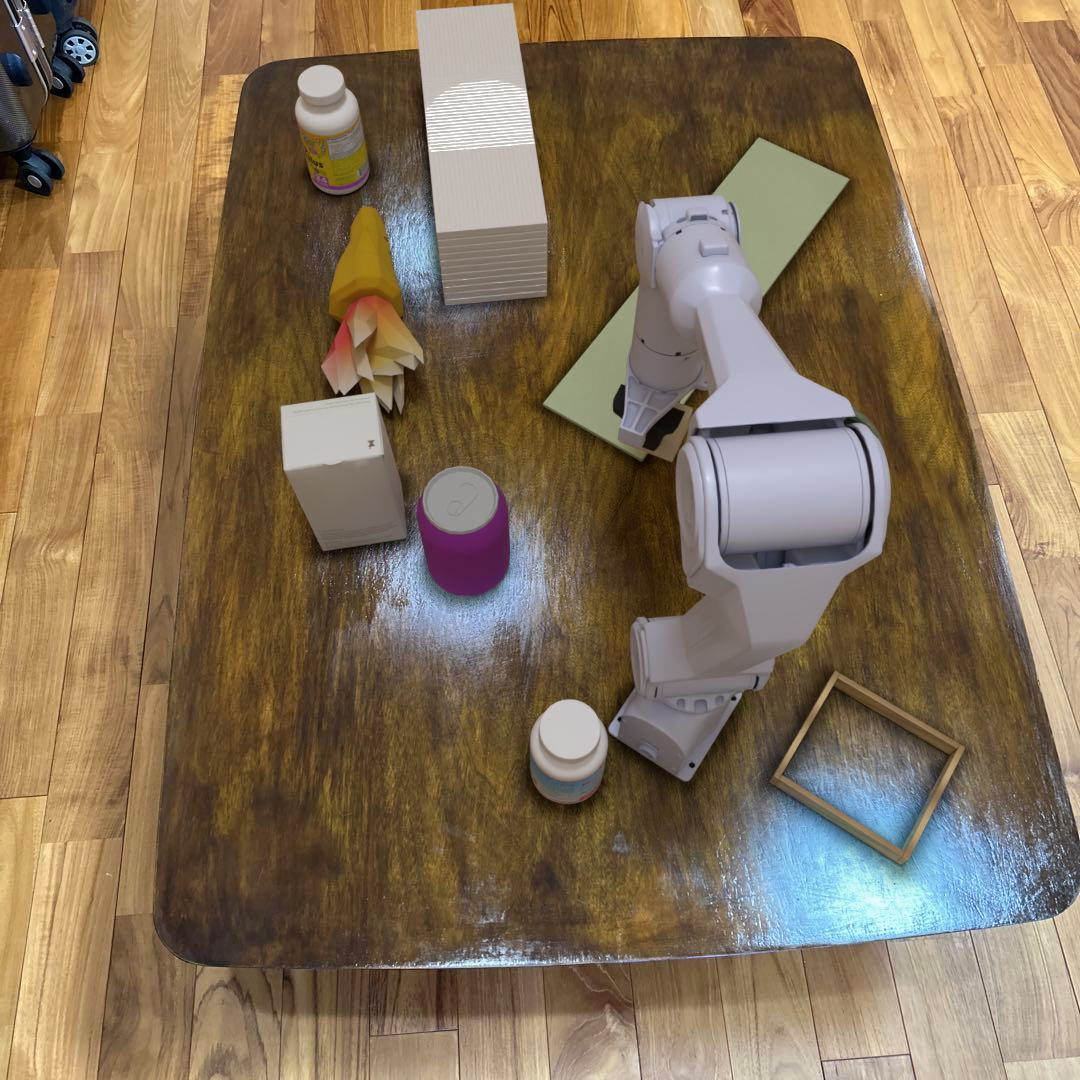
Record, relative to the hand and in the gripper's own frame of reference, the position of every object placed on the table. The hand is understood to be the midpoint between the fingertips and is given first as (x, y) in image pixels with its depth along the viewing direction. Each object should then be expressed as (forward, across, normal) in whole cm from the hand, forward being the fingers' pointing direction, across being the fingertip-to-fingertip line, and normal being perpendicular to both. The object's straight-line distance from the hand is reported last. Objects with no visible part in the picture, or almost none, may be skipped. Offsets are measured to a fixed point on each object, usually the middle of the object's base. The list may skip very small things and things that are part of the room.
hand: (654, 424), depth 93 cm
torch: (+11, +6, +32) cm, 34 cm away
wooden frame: (+10, -18, -27) cm, 34 cm away
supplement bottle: (+11, +23, +46) cm, 52 cm away
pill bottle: (+11, -28, -4) cm, 30 cm away
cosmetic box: (+11, -14, +23) cm, 29 cm away
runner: (+11, +25, +3) cm, 27 cm away
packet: (+2, 0, 0) cm, 2 cm away
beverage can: (+11, -14, +12) cm, 21 cm away
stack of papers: (+11, +28, +31) cm, 43 cm away
